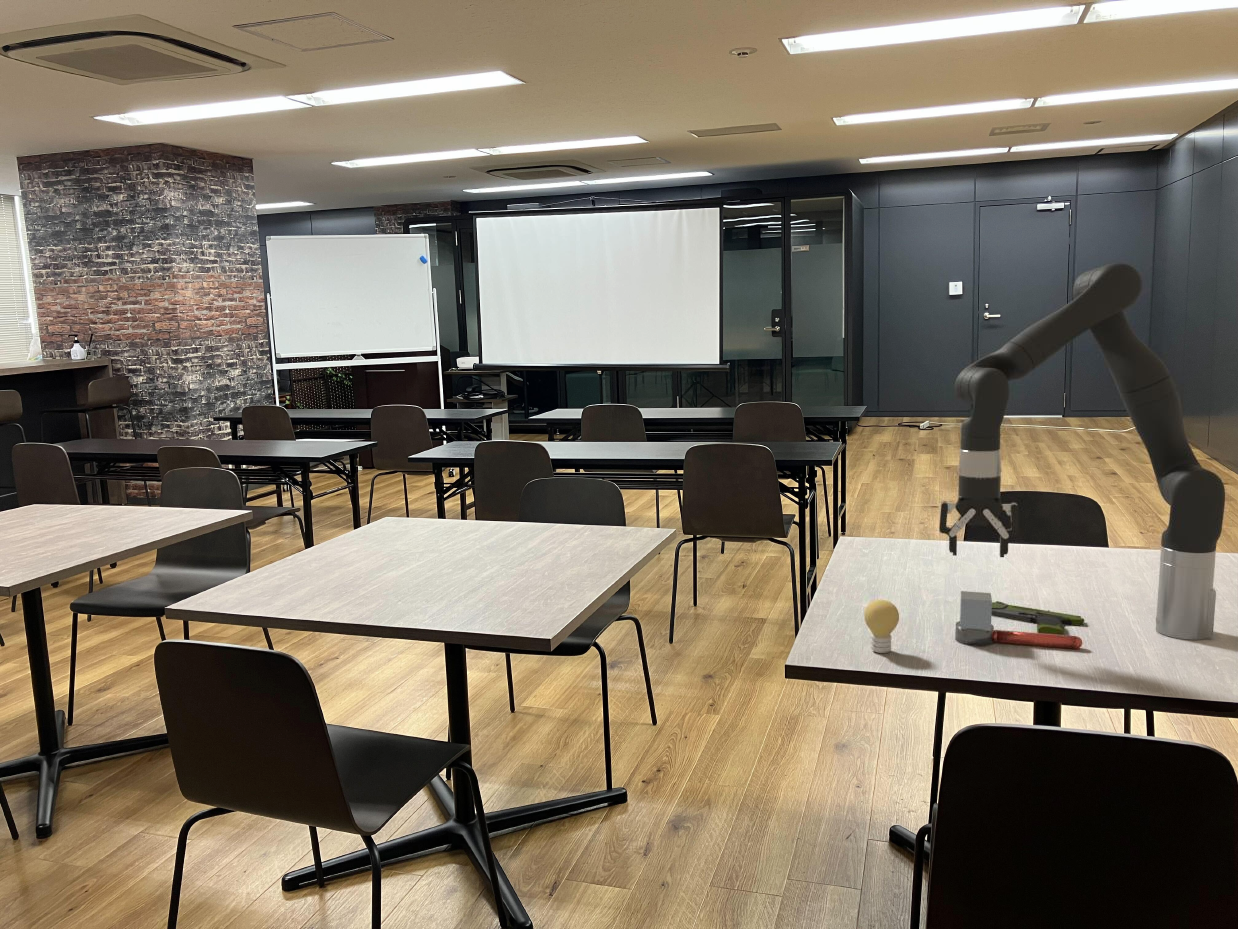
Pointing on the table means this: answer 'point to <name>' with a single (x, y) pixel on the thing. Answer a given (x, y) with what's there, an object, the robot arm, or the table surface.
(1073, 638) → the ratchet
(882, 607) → the light bulb
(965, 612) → the grey bevelled cube
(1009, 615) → the gun
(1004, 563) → the table surface
